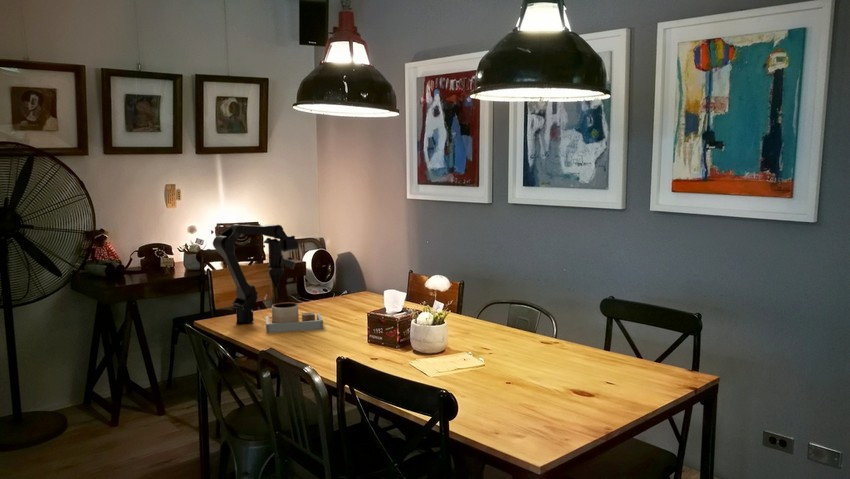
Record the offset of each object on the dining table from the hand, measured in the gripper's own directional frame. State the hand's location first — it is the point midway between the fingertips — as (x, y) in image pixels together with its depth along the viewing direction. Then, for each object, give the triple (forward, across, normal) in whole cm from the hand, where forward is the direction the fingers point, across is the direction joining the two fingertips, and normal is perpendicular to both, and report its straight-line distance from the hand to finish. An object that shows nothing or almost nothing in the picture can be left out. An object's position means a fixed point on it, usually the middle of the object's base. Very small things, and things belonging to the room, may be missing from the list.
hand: (276, 287), depth 298 cm
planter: (+13, -23, -3) cm, 26 cm away
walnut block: (+13, -21, -12) cm, 28 cm away
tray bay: (+12, -23, -6) cm, 27 cm away
